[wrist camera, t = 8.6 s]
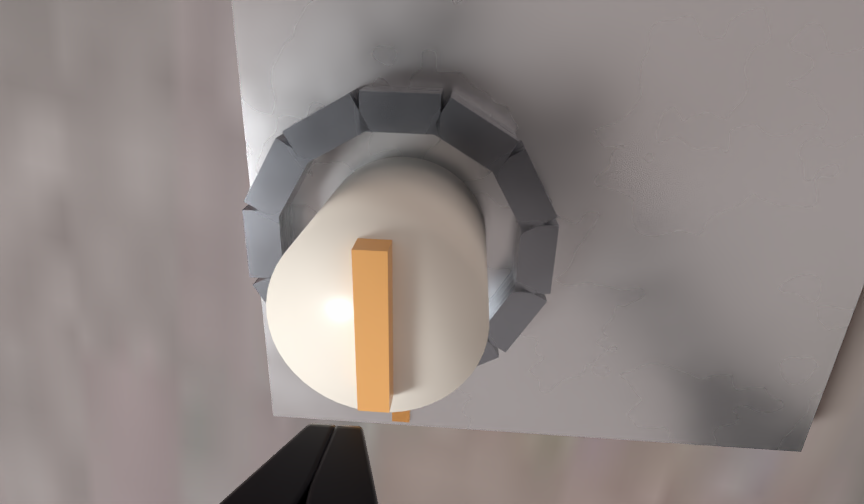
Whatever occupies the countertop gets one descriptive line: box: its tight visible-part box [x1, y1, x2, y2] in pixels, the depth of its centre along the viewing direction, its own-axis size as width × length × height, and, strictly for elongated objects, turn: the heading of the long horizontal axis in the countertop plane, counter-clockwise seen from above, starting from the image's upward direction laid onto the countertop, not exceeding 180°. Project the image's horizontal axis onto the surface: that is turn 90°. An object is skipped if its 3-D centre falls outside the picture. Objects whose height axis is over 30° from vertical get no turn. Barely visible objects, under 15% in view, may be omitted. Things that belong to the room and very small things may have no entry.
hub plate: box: [231, 0, 864, 452], centre depth 16 cm, size 18×14×2 cm
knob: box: [266, 157, 489, 413], centre depth 14 cm, size 5×5×6 cm
